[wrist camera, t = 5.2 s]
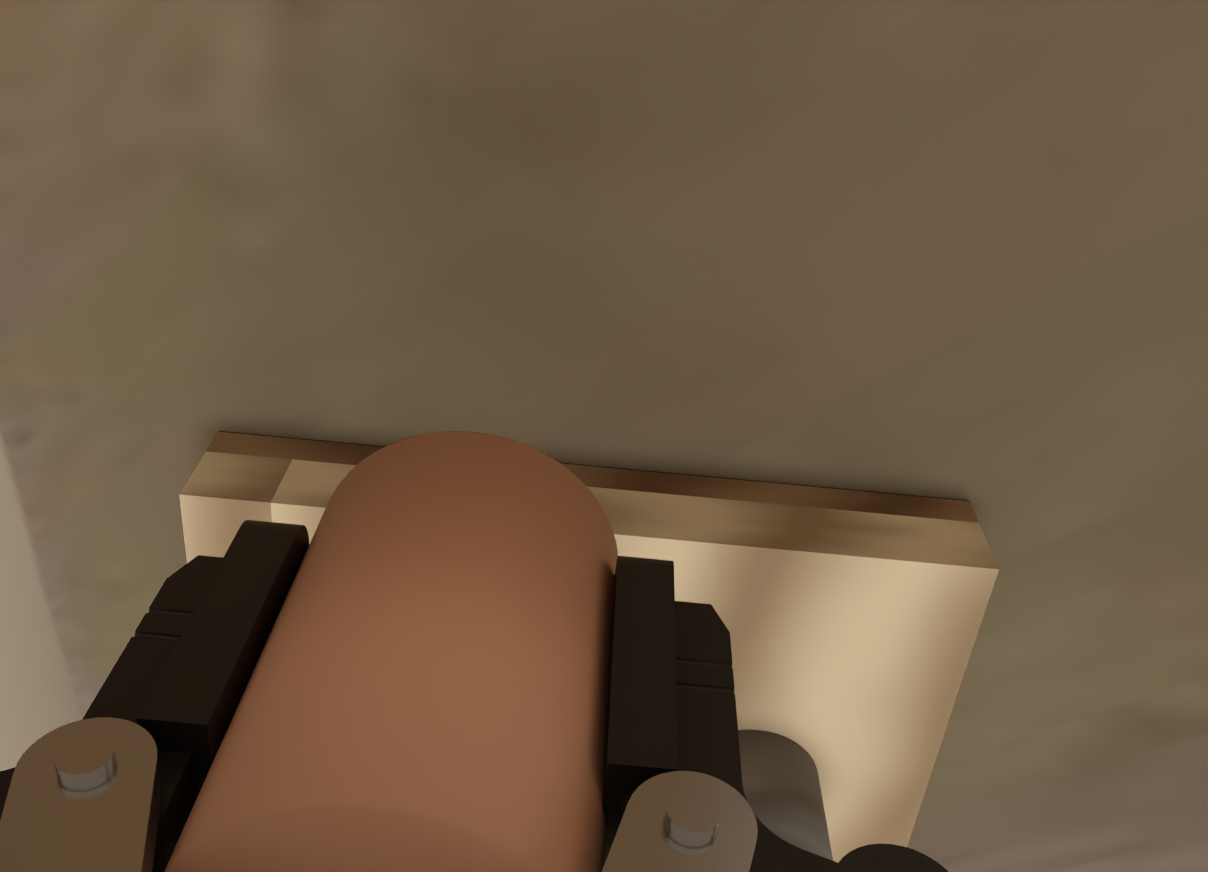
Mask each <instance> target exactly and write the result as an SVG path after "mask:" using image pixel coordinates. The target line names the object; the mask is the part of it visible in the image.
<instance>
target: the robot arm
mask: <svg viewBox="0 0 1208 872" xmlns="http://www.w3.org/2000/svg"><path fill="white" fill-rule="evenodd" d="M308 547H309V535H308V531H307V528H306V526H305V525H297V524H286V523H276V522H265V521H254V520H246V521H244V522H243V523H242V525H241V526H240V528H239V530H238V532H237V533H236V535H235V537H234V539H233V541H232V543H231V544H230V546H229V548H228V550H227V552H226V554H225V556H224V557H213V556H202V555H198V556H197V557H195V558H194V559H193V560H191V561H190V562H188V563H187V564H186V565H184V566H183V567H182V568H180V569H179V570H178V571H176V572H175V573H174V574H172V575H171V576H170V577H168V578H167V579H166V581H165V582H164V584H163V586H162V587H161V589H160V591H159V592H158V594H157V596H156V597H155V599H154V601H153V602H152V604H151V606H150V607H149V613H146V614H145V616H144V617H143V619H142V621H141V622H140V624H139V626H138V627H137V629H136V631H135V637H132V638H131V639H130V641H129V643H128V644H127V646H126V648H125V649H124V651H123V653H122V654H121V656H120V658H119V659H118V661H117V663H116V664H115V666H114V668H113V669H112V671H111V673H110V674H109V676H108V678H107V679H106V681H105V683H104V684H103V686H102V688H101V689H100V691H99V693H98V694H97V696H96V698H95V699H94V701H93V703H92V704H91V706H90V708H89V709H88V711H87V713H86V714H85V716H84V718H83V719H82V720H80V721H76V722H72V723H69V724H67V725H64V726H61V727H59V728H57V729H55V730H53V731H51V732H49V733H47V734H46V735H44V736H43V737H41V738H40V739H38V740H37V741H36V742H35V743H34V744H32V745H31V746H30V747H29V748H28V750H26V752H25V753H24V754H23V755H22V757H21V758H20V760H19V761H18V763H17V765H16V767H15V768H12V769H8V770H5V771H0V872H164V871H165V869H166V867H167V865H168V862H169V860H170V858H171V856H172V853H173V851H174V849H175V847H176V844H177V842H178V840H179V838H180V835H181V833H182V831H183V829H184V826H185V824H186V822H187V820H188V817H189V815H190V813H191V811H192V808H193V806H194V804H195V801H196V799H197V797H198V795H199V792H200V790H201V788H202V786H203V783H204V781H205V779H206V777H207V774H208V772H209V770H210V768H211V765H212V763H213V761H214V759H215V756H216V754H217V752H218V750H219V747H220V745H221V743H222V741H223V738H224V736H225V734H226V732H227V729H228V727H229V725H230V723H231V720H232V718H233V716H234V714H235V711H236V709H237V707H238V705H239V702H240V700H241V698H242V696H243V693H244V691H245V689H246V687H247V684H248V682H249V680H250V678H251V675H252V673H253V671H254V669H255V666H256V664H257V662H258V660H259V657H260V655H261V653H262V651H263V648H264V646H265V644H266V642H267V639H268V637H269V635H270V633H271V630H272V628H273V626H274V623H275V621H276V619H277V617H278V614H279V612H280V610H281V608H282V605H283V603H284V601H285V599H286V596H287V594H288V592H289V590H290V587H291V585H292V583H293V581H294V578H295V576H296V574H297V572H298V569H299V567H300V565H301V563H302V560H303V558H304V556H305V554H306V551H307V549H308ZM734 689H735V687H734V675H733V669H732V651H731V639H730V632H729V630H728V629H727V627H726V626H725V624H724V623H723V621H722V620H721V618H720V617H719V615H718V614H717V612H716V611H715V609H714V608H713V606H712V605H711V604H703V603H692V602H682V601H675V593H674V562H673V561H669V560H659V559H648V558H638V557H627V556H617V561H616V568H615V578H614V597H613V616H612V635H611V654H610V673H609V692H608V711H607V730H606V749H605V768H604V787H603V810H604V816H605V823H606V828H605V852H604V867H603V870H602V872H948V871H947V870H946V869H945V868H944V867H942V866H941V865H940V864H939V863H937V862H936V861H934V860H933V859H931V858H929V857H928V856H926V855H924V854H922V853H920V852H918V851H915V850H913V849H910V848H907V847H904V846H899V845H893V844H870V845H865V846H862V847H858V848H856V849H854V850H852V851H850V852H849V853H848V854H846V855H845V856H844V857H843V858H842V859H841V860H840V861H839V863H838V862H835V861H832V860H830V859H827V858H824V857H822V856H819V855H816V854H814V853H811V852H808V851H806V850H803V849H801V848H798V847H796V846H794V845H792V844H790V843H788V842H786V841H785V840H783V839H781V838H779V837H778V836H777V835H776V834H774V833H773V832H772V831H770V830H769V829H768V828H767V827H766V826H765V825H764V824H763V823H762V822H761V821H760V820H759V819H758V817H757V816H756V815H755V814H754V812H753V810H752V809H751V807H750V805H749V804H748V802H747V799H746V796H745V794H744V789H743V783H742V771H741V759H740V747H739V735H738V723H737V711H736V699H735V694H734Z"/></svg>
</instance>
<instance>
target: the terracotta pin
mask: <svg viewBox="0 0 1208 872" xmlns="http://www.w3.org/2000/svg"><path fill="white" fill-rule="evenodd" d="M617 556H618V551H617V543H616V540H615V536H614V533H613V529H612V526H611V524H610V522H609V520H608V518H607V515H606V513H605V511H604V510H603V508H602V507H601V505H600V503H599V502H598V500H597V499H596V497H595V496H594V495H593V494H592V492H591V491H590V490H589V489H588V488H587V487H586V485H585V484H584V483H583V482H582V481H581V480H580V479H579V478H577V477H576V476H575V475H574V474H573V473H572V472H571V471H570V470H569V469H567V468H566V467H564V466H563V465H561V464H560V463H559V462H557V461H556V460H554V459H553V458H551V457H549V456H547V455H546V454H544V453H542V452H540V451H538V450H536V449H534V448H532V447H529V446H527V445H524V444H522V443H519V442H517V441H514V440H510V439H507V438H503V437H499V436H496V435H490V434H483V433H477V432H460V431H449V432H436V433H428V434H423V435H418V436H413V437H410V438H407V439H404V440H401V441H398V442H395V443H392V444H390V445H388V446H386V447H384V448H382V449H380V450H378V451H376V452H374V453H373V454H371V455H370V456H368V457H367V458H365V459H364V460H362V461H361V462H360V463H359V464H358V465H356V466H355V467H354V468H353V469H352V470H351V471H350V472H349V473H348V474H347V475H346V476H345V477H344V479H343V480H342V481H341V482H340V484H339V485H338V486H337V488H336V489H335V491H334V493H333V495H332V496H331V498H330V500H329V502H328V504H327V506H326V509H325V511H324V513H323V515H322V518H321V520H320V522H319V524H318V527H317V529H316V531H315V533H314V536H313V538H312V540H311V542H310V545H309V547H308V549H307V551H306V554H305V556H304V558H303V560H302V563H301V565H300V567H299V569H298V572H297V574H296V576H295V578H294V581H293V583H292V585H291V587H290V590H289V592H288V594H287V596H286V599H285V601H284V603H283V605H282V608H281V610H280V612H279V614H278V617H277V619H276V621H275V623H274V626H273V628H272V630H271V633H270V635H269V637H268V639H267V642H266V644H265V646H264V648H263V651H262V653H261V655H260V657H259V660H258V662H257V664H256V666H255V669H254V671H253V673H252V675H251V678H250V680H249V682H248V684H247V687H246V689H245V691H244V693H243V696H242V698H241V700H240V702H239V705H238V707H237V709H236V711H235V714H234V716H233V718H232V720H231V723H230V725H229V727H228V729H227V732H226V734H225V736H224V738H223V741H222V743H221V745H220V747H219V750H218V752H217V754H216V756H215V759H214V761H213V763H212V765H211V768H210V770H209V772H208V774H207V777H206V779H205V781H204V783H203V786H202V788H201V790H200V792H199V795H198V797H197V799H196V801H195V804H194V806H193V808H192V811H191V813H190V815H189V817H188V820H187V822H186V824H185V826H184V829H183V831H182V833H181V835H180V838H179V840H178V842H177V844H176V847H175V849H174V851H173V853H172V856H171V858H170V860H169V862H168V865H167V867H166V869H165V871H164V872H602V870H603V867H604V852H605V828H606V823H605V816H604V810H603V787H604V768H605V749H606V730H607V711H608V692H609V673H610V654H611V635H612V616H613V597H614V578H615V568H616V561H617Z"/></svg>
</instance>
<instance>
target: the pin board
mask: <svg viewBox="0 0 1208 872" xmlns="http://www.w3.org/2000/svg"><path fill="white" fill-rule="evenodd" d="M382 448H384V447H379V446H368V445H357V444H346V443H335V442H325V441H314V440H303V439H292V438H281V437H271V436H260V435H249V434H238V433H228V432H218V433H217V435H216V436H215V438H214V440H213V441H212V443H211V444H210V446H209V448H208V449H207V451H206V452H205V454H204V456H203V457H202V459H201V460H200V462H199V464H198V465H197V467H196V468H195V470H194V472H193V473H192V475H191V476H190V478H189V480H188V481H187V483H186V484H185V486H184V488H183V489H182V491H181V492H180V494H179V497H180V506H181V515H182V523H183V532H184V541H185V549H186V558H187V563H188V562H190V561H191V560H193V559H194V558H195V557H197V556H198V555H202V556H213V557H224V556H225V554H226V552H227V550H228V548H229V546H230V544H231V543H232V541H233V539H234V537H235V535H236V533H237V532H238V530H239V528H240V526H241V525H242V523H243V522H244V521H246V520H254V521H265V522H276V523H286V524H297V525H305V526H306V528H307V531H308V535H309V545H310V542H311V540H312V538H313V536H314V533H315V531H316V529H317V527H318V524H319V522H320V520H321V518H322V515H323V513H324V511H325V509H326V506H327V504H328V502H329V500H330V498H331V496H332V495H333V493H334V491H335V489H336V488H337V486H338V485H339V484H340V482H341V481H342V480H343V479H344V477H345V476H346V475H347V474H348V473H349V472H350V471H351V470H352V469H353V468H354V467H355V466H356V465H358V464H359V463H360V462H361V461H362V460H364V459H365V458H367V457H368V456H370V455H371V454H373V453H374V452H376V451H378V450H380V449H382ZM560 464H561V465H563V466H564V467H566V468H567V469H569V470H570V471H571V472H572V473H573V474H574V475H575V476H576V477H577V478H579V479H580V480H581V481H582V482H583V483H584V484H585V485H586V487H587V488H588V489H589V490H590V491H591V492H592V494H593V495H594V496H595V497H596V499H597V500H598V502H599V503H600V505H601V507H602V508H603V510H604V511H605V513H606V515H607V518H608V520H609V522H610V524H611V526H612V529H613V533H614V536H615V540H616V543H617V551H618V556H627V557H638V558H648V559H659V560H669V561H673V562H674V593H675V601H682V602H692V603H703V604H711V605H712V606H713V608H714V609H715V611H716V612H717V614H718V615H719V617H720V618H721V620H722V621H723V623H724V624H725V626H726V627H727V629H728V630H729V632H730V639H731V651H732V669H733V675H734V687H735V689H734V694H735V699H736V711H737V723H738V735H739V747H740V759H741V771H742V783H743V789H744V794H745V796H746V799H747V802H748V804H749V805H750V807H751V809H752V810H753V812H754V814H755V815H756V816H757V817H758V819H759V820H760V821H761V822H762V823H763V824H764V825H765V826H766V827H767V828H768V829H769V830H770V831H772V832H773V833H774V834H776V835H777V836H778V837H779V838H781V839H783V840H785V841H786V842H788V843H790V844H792V845H794V846H796V847H798V848H801V849H803V850H806V851H808V852H811V853H814V854H816V855H819V856H822V857H824V858H827V859H830V860H832V861H835V862H838V863H839V861H840V860H841V859H842V858H843V857H844V856H845V855H846V854H848V853H849V852H850V851H852V850H854V849H856V848H858V847H862V846H865V845H870V844H893V845H899V846H904V847H907V846H908V843H909V840H910V837H911V834H912V831H913V827H914V824H915V821H916V818H917V815H918V812H919V809H920V806H921V803H922V800H923V797H924V794H925V791H926V788H927V785H928V782H929V779H930V776H931V773H932V770H933V767H934V764H935V761H936V758H937V755H938V752H939V749H940V746H941V743H942V740H943V737H944V734H945V731H946V728H947V725H948V722H949V719H950V716H951V713H952V710H953V707H954V704H955V701H956V698H957V695H958V692H959V689H960V686H961V683H962V680H963V677H964V674H965V671H966V668H967V665H968V662H969V659H970V656H971V653H972V650H973V647H974V644H975V641H976V638H977V635H978V632H979V629H980V626H981V623H982V620H983V617H984V614H985V611H986V608H987V605H988V602H989V599H990V596H991V593H992V590H993V587H994V584H995V581H996V578H997V575H998V572H999V568H998V566H997V563H996V561H995V559H994V556H993V554H992V552H991V550H990V547H989V545H988V543H987V540H986V538H985V536H984V534H983V531H982V529H981V527H980V524H979V522H978V520H977V518H976V515H975V513H974V511H973V509H972V506H971V504H970V502H969V501H962V500H951V499H940V498H929V497H918V496H908V495H897V494H886V493H875V492H864V491H854V490H843V489H832V488H821V487H810V486H800V485H789V484H778V483H767V482H757V481H746V480H735V479H724V478H713V477H703V476H692V475H681V474H670V473H659V472H649V471H638V470H627V469H616V468H605V467H595V466H584V465H573V464H562V463H560Z"/></svg>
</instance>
